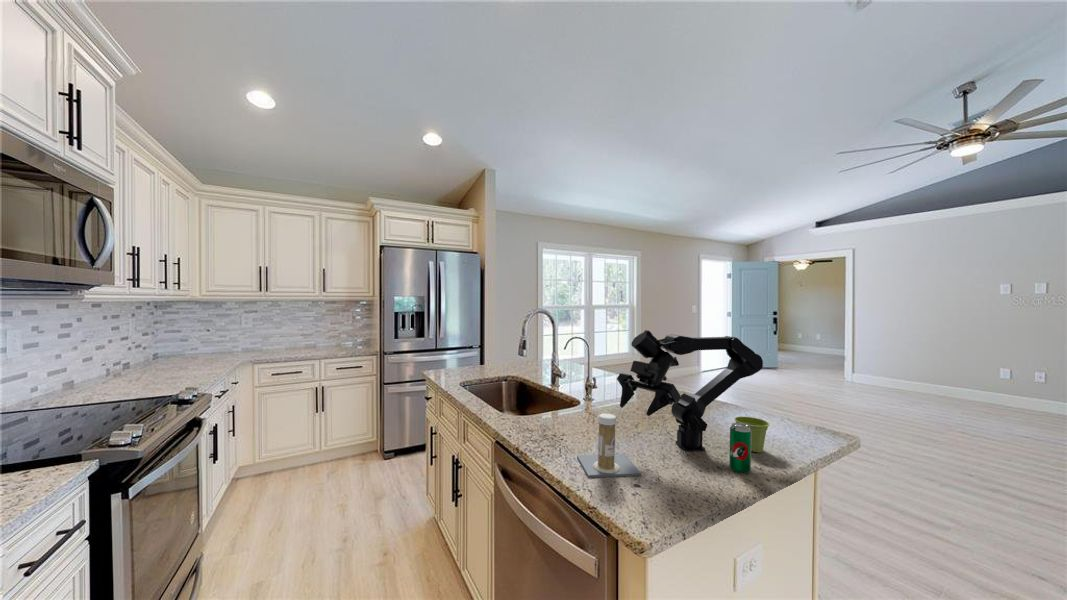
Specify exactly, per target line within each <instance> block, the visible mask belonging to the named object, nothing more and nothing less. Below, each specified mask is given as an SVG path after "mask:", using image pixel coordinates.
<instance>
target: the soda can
mask: <svg viewBox="0 0 1067 600" xmlns="http://www.w3.org/2000/svg"><path fill="white" fill-rule="evenodd" d="M751 433H752V431H751V429H750V426H748V425H746V424H742V423H736V422H733V423H731V425H730V427H729V450H728V451H729V452H728V454H729V458H728V462H729V463H728V467H729V468H730V470H732V471H733V472H736V473H739V474H748V473H750V472H751V470H752V468H751V467H752V466H751V465H752V451H751Z"/></svg>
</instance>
